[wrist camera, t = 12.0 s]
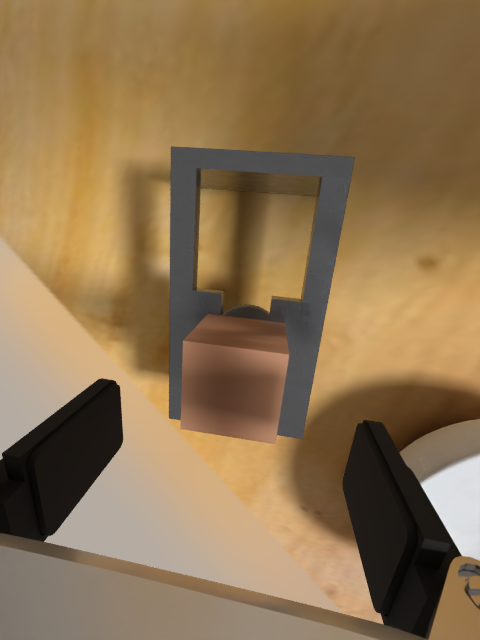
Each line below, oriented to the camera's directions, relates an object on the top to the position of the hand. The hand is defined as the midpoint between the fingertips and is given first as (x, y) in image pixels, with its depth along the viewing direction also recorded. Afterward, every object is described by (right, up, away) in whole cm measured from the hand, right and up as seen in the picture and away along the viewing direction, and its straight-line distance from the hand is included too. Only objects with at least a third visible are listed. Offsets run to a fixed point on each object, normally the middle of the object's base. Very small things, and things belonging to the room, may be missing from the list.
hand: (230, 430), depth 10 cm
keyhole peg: (+1, +3, +11) cm, 11 cm away
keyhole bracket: (+1, +7, +12) cm, 14 cm away
